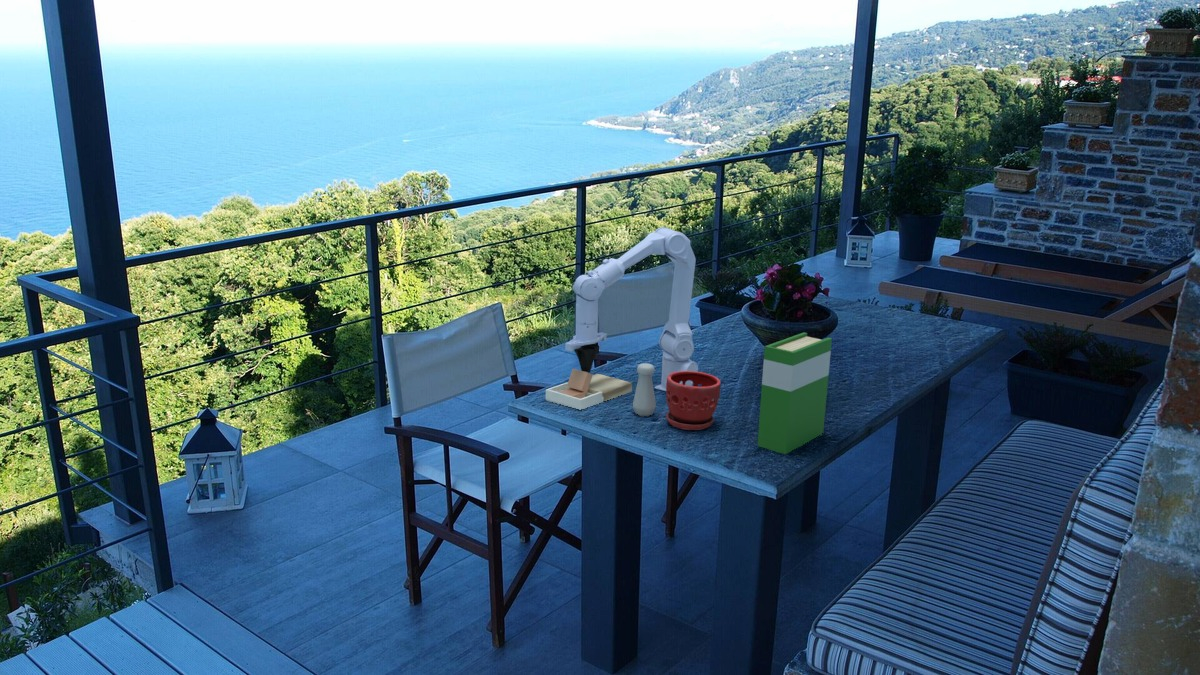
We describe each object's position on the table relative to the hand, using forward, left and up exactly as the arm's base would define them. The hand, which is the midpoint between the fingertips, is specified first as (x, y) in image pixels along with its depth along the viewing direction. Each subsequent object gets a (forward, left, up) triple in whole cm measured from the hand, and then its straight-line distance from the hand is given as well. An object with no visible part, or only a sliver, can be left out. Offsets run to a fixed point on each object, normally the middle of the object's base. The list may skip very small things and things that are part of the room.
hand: (585, 372), depth 246 cm
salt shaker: (-19, 0, -7) cm, 20 cm away
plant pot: (-32, -2, -7) cm, 33 cm away
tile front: (0, +6, -7) cm, 9 cm away
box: (0, +4, -7) cm, 8 cm away
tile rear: (0, +1, -3) cm, 3 cm away
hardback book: (-55, -10, -7) cm, 57 cm away
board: (0, -6, -7) cm, 10 cm away
